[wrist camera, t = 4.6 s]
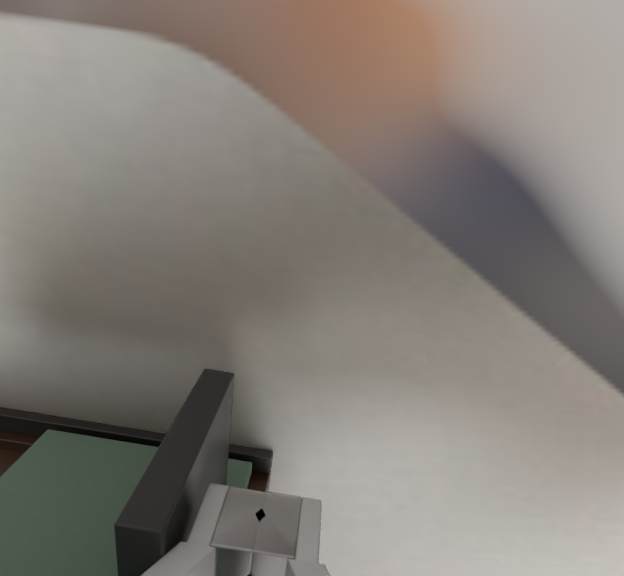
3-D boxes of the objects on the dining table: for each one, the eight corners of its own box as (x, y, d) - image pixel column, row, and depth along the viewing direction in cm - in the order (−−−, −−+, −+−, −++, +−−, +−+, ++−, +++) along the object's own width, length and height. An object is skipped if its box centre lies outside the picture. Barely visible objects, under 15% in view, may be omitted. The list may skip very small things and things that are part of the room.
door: (31, 318, 14) (-679, 745, 4) (263, 354, 14) (75, 884, 4) (49, 439, 16) (-402, 914, 6) (251, 472, 16) (107, 1010, 6)
